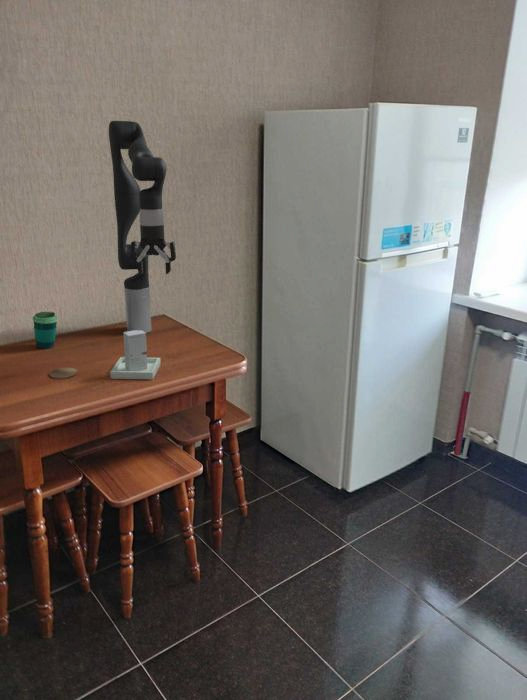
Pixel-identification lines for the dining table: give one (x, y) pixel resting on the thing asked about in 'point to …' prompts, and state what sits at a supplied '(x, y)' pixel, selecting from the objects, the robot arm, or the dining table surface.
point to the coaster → (63, 373)
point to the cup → (45, 329)
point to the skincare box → (135, 350)
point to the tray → (123, 373)
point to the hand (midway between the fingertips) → (154, 273)
